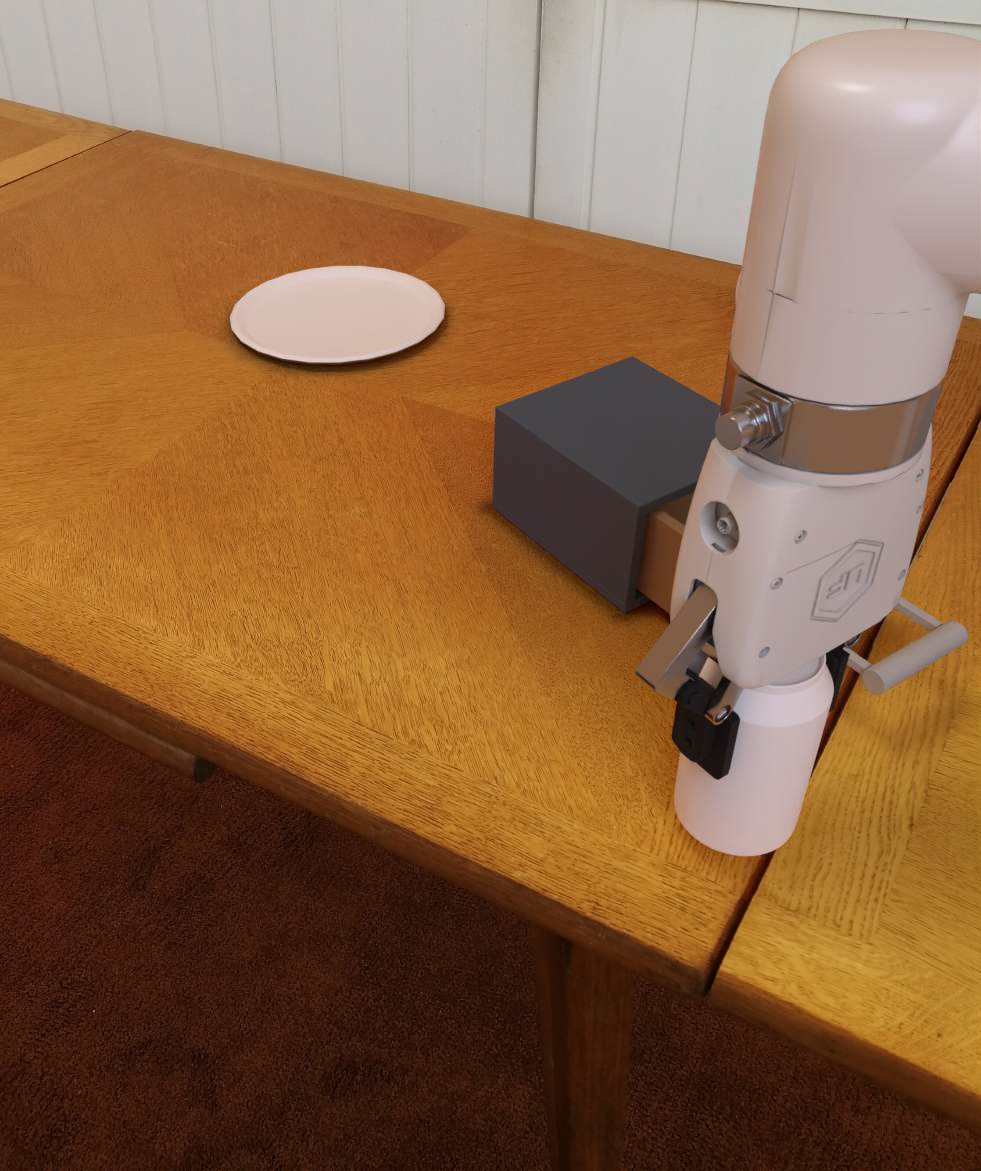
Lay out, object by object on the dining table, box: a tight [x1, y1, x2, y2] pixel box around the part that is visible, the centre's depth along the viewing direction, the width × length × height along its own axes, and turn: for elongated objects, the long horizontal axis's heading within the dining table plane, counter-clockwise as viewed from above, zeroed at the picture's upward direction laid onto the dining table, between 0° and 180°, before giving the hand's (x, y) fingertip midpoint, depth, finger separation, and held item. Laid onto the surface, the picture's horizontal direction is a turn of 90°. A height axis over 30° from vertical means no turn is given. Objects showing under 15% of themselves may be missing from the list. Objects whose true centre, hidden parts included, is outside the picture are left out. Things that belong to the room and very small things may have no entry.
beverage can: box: [673, 654, 834, 857], centre depth 53 cm, size 6×6×12 cm
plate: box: [229, 265, 446, 366], centre depth 105 cm, size 21×21×1 cm
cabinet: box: [492, 356, 721, 614], centre depth 75 cm, size 15×13×9 cm
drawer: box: [637, 492, 969, 696], centre depth 66 cm, size 20×11×7 cm, turn 32°
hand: (752, 724), depth 52 cm, fingers closed on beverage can, 6 cm apart
